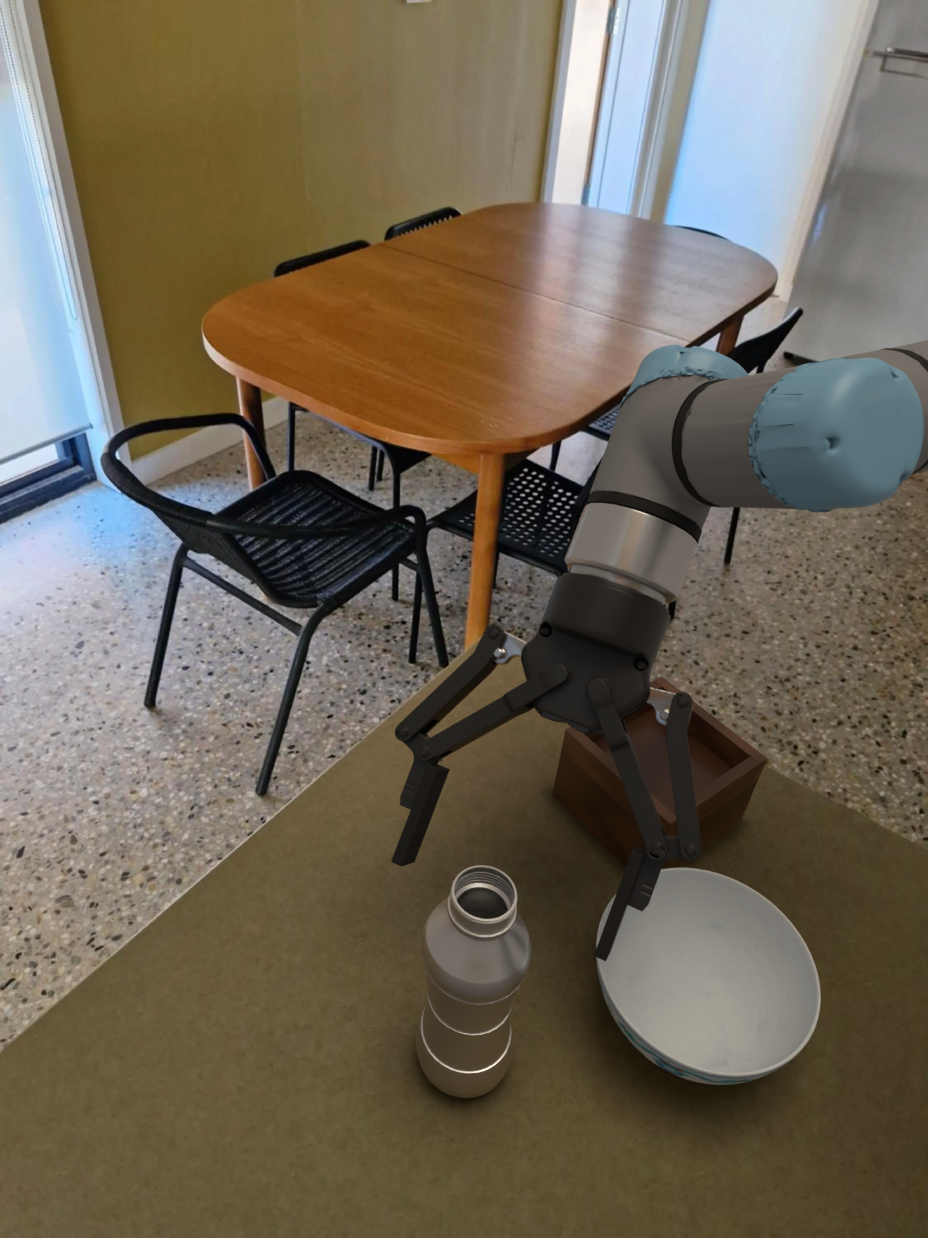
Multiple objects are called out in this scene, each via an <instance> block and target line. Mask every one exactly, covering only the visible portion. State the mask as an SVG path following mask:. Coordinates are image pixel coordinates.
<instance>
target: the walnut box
mask: <svg viewBox="0 0 928 1238" xmlns="http://www.w3.org/2000/svg"><path fill="white" fill-rule="evenodd" d="M650 686H651V687H652V688H656V689H660V690H664V691H669V692H673V693H678V692H682V691H681V690H680V689H679V688H678V687H676V686H675V685H673V684H672V683H671V682H670V681H669V680H667V679H666V678H664V676H660V677H657V678H656V679H654V680H652V681H650ZM624 722H625V725H626V727H627V730H628V733H629V735H630V738H631V741H632V744H633V747H634V750H635V753H636V756H637V758H638V761H639V764H640V766H641V769H642V772H643V774H644V777H645V780H646V782H647V785H648V788H649V791H650V793H651V796H652V799H653V801H654V804H655V807H656V809H657V812H658V815H659V817H660V820H661V823H662V826H663V828H664V831H665V834H666V836H676V837H678V829H677V821H676V813H675V805H674V797H673V789H672V781H671V773H670V765H669V757H668V749H667V741H666V726H664V725H662V724H660V723H659V722H658V721H657V719H656V712H655V708H654V707H653V706H652V705H650V704H646V705H645V706H644V707H643V708H641V709H640V710H638V711H637V712H635V713H633V714H632V715H630V716H629V717H627V718H626V719H624ZM687 738H688V746H689V754H690V762H691V769H692V777H693V785H694V793H695V800H696V808H697V816H698V823H699V831H700V839H701V851H703V850H704V849H705V848H707V847H708V846H710V845H711V844H712V843H714V842H715V841H716V840H718V839H719V838H721V837H722V836H724V835H725V834H726V833H728V832H729V831H730V830H732V829H733V828H735V827H736V826H737V825H739V824H740V823H741V822H742V820H743V817H744V815H745V812H746V810H747V807H748V805H749V803H750V801H751V799H752V796H753V793H754V791H755V789H756V786H757V785H758V781H759V779H760V777H761V774H762V772H763V770H764V767H765V765H766V763H767V761H768V757H766V756H765V755H764V754H763V753H761V752H760V751H759V750H757V749H756V748H754V747H753V746H752V745H751V744H750V743H749V742H747V741H746V740H745V739H743V738H742V737H740V735H738V734H737V733H736V732H735V731H733V730H732V729H730V728H729V727H728V726H726V725H725V724H724V723H723V722H721V721H720V720H719V719H718V718H716V717H715V716H714V715H712V714H711V713H709V711H707V710H705V708H703V707H702V706H701V705H699V704H698V703H697V702H695V701H694V700H693V708H692V713H691V717H690V721H689V725H688V730H687ZM558 759H559V760H558V765H557V769H556V774H555V779H554V785H553V790H552V795H553V797H554V798H556V800H558V802H560V804H562V805H563V806H564V807H565V808H566V809H567V810H568V811H569V812H570V813H571V814H572V815H573V816H574V817H575V818H576V819H577V820H578V821H579V822H580V823H581V824H582V825H583V826H584V827H585V828H586V829H587V830H588V831H589V832H590V833H591V834H592V835H593V836H594V837H595V838H596V839H597V840H598V841H600V843H602V844H603V845H604V846H605V848H607V849H608V851H610V853H612V854H613V855H614V856H615V857H616V858H617V859H618V860H619V861H620V862H621V863H622V864H623V866H625V867H626V866H627V863H628V860H629V857H630V855H631V852H632V850H633V849H634V848H635V847H637V848H639V849H642V850H644V851H646V846H645V843H644V841H643V838H642V835H641V832H640V830H639V827H638V824H637V821H636V819H635V816H634V813H633V810H632V808H631V805H630V802H629V799H628V797H627V794H626V791H625V788H624V786H623V783H622V780H621V778H620V775H619V772H618V769H617V767H616V764H615V761H614V758H613V756H612V753H611V751H610V749H609V746H608V744H607V741H606V739H605V736H604V733H602V734H598V735H588V734H585V733H582V732H580V731H577V730H575V729H574V728H572V727H571V726H569V727H567V728H565V730H564V734H563V740H562V745H561V750H560V755H559V758H558ZM686 862H688V860H682V859H671V860H668V861H667V862H665V863H664V864H663V866H662V869H668V868H680V867H681V866H682V865H684V864H685V863H686ZM662 869H661V870H662Z"/></svg>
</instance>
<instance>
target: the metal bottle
mask: <svg viewBox="0 0 928 1238" xmlns="http://www.w3.org/2000/svg"><path fill="white" fill-rule="evenodd" d="M517 904H518V891H517V888H516V885H515V883H514V882H513V880H512V879H511V878H510V876H509V875H508V874H507V873H505V872H504V871H502V870H501V869H498V868H496V867H494V866H491V865H484V864H480V865H479V864H477V865H472V866H468V867H467V868H464V869H463V870H462V871H460V872H459V873H458V874H457V875H456V876H455V878H454V880H453V881H452V884H451V888H450V892H449V895H448V897H446V898H444V899H443V900H442V901H441V902H439V903H438V904H437V905H436V907H435V908H434V909H433V910H432V911H431V913H430V915H429V916H428V918H427V919H426V922H425V923H424V926H423V928H422V931H421V938H420V940H421V941H420V946H421V957H422V962H423V967H424V972H425V976H426V990H427V993H426V994H427V996H426V1001H425V1005H424V1008H423V1010H422V1012H421V1013H420V1017H419V1019H418V1020H419V1021H418V1023H417V1027H416V1031H415V1038H414V1045H415V1052H416V1055H417V1058H418V1062H419V1064H420V1067H421V1070H422V1072H423V1073H424V1076H425V1077H426V1079H427V1080H428V1081H429V1082H430V1083H431V1085H433V1086H434V1087H435V1088H436V1089H438V1090H439V1091H441V1092H442V1093H444V1094H447V1095H448V1096H451V1097H455V1098H460V1099H471V1098H478V1097H481V1096H484V1095H486V1094H488V1093H489V1092H491V1091H492V1090H493V1089H494V1088H496V1087H497V1086H498V1085H499V1084H500V1082H501V1081H502V1079H503V1078H504V1076H505V1075H506V1074H507V1072H508V1070H509V1068H510V1066H511V1063H512V1059H513V1055H514V1035H513V1034H514V1033H513V1028H512V1023H511V1021H512V1019H511V1018H512V1017H511V1016H512V1014H511V1013H512V1008H513V1005H514V1001H515V997H516V995H517V993H518V991H519V988H520V986H521V985H522V983H523V981H524V979H525V977H526V975H527V972H528V969H529V966H530V962H531V957H532V943H531V938H530V934H529V931H528V928H527V926H526V924H525V921H524V919H523V917H522V916H521V915H520V914H519V912H518V911H517V909H518V908H517Z"/></svg>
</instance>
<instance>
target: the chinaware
mask: <svg viewBox="0 0 928 1238" xmlns="http://www.w3.org/2000/svg"><path fill="white" fill-rule="evenodd" d="M615 896H616V894H614V895H613V897H612V898H611V899H610V901H609V902H608V904H607V905H606V907H605V909H604V911H603V913H602V916H601V918H600V920H599V924H598V927H597V928H598V929H597V933H596V940H595V949H596V948H597V946H598V943H599V940H600V937H601V935H602V932H603V929H604V926H605V924H606V921H607V918H608V915H609V913H610V910H611V907H612V904H613V901H614V899H615ZM595 959H596V969H597V976H598V981H599V985H600V988H601V992H602V995H603V998H604V1001H605V1003H606V1006H607V1009H608V1010H609V1013H610V1014H611V1017H612V1019H613V1020H614V1022H615V1023H616V1025H617V1027H618V1028H619V1029H620V1031H621V1032H622V1034H623V1035H624V1036H625V1038H626V1039H627V1040H628V1042H629V1043H630V1044H631V1045H632V1046H633V1047H634V1048H635V1049H636V1050H637V1052H639V1053H640V1054H641V1055H642V1056H644V1057H645V1058H646V1059H647V1060H648V1061H650V1062H651V1063H653V1064H654V1065H656V1066H658V1067H659V1068H661V1069H663V1070H664V1071H666V1072H668V1073H669V1074H672V1075H674V1076H677V1077H679V1078H682V1079H685V1080H688V1081H691V1082H695V1083H700V1084H705V1085H714V1086H715V1085H717V1086H725V1085H737V1084H742V1083H743V1084H744V1083H747V1082H751V1081H755V1080H757V1079H760V1078H763V1077H766V1076H768V1075H770V1074H772V1073H773V1072H775V1071H777V1070H779V1069H780V1068H782V1067H784V1066H785V1065H786V1064H788V1063H790V1062H791V1061H792V1060H793V1059H794V1058H796V1056H797V1055H799V1054H800V1052H802V1051H803V1050H804V1048H805V1047H806V1045H807V1044H808V1042H809V1041H810V1039H811V1037H812V1036H813V1034H814V1032H815V1029H816V1027H817V1024H818V1022H819V1021H818V1020H819V1016H820V1013H821V1000H822V996H821V993H822V992H821V984H820V977H819V974H818V970H817V965H816V963H815V960H814V958H813V955H812V953H811V951H810V949H809V947H808V945H807V943H806V941H805V940H804V938H803V937H802V935H801V934H800V932H799V930H798V929H797V928H796V926H795V925H794V924H793V923H792V922H791V920H790V919H789V918H788V917H787V916H786V915H785V914H784V913H783V912H782V910H780V909H779V908H778V907H777V906H776V905H775V904H774V903H773V902H772V901H770V900H769V899H768V898H767V897H765V896H764V895H762V894H761V893H760V892H758V891H757V890H755V889H753V888H752V887H750V886H748V885H747V884H745V883H743V882H740V881H739V880H736V879H734V878H732V877H729V876H727V875H724V874H721V873H718V872H714V871H711V870H707V869H702V868H701V869H700V868H695V867H678V868H668V869H662V870H661V872H660V874H659V877H658V880H657V883H656V886H655V888H654V891H653V894H652V897H651V899H650V902H649V905H648V906H647V907H646V908H645V909H644V910H643V911H640V910H637V909H635V908H633V907H631V906H628V905H627V908H626V911H625V914H624V916H623V919H622V922H621V925H620V927H619V930H618V933H617V936H616V939H615V941H614V944H613V947H612V950H611V952H610V954H609V956H608V958H607V960H606V961H604V960H601V959H599V958H597V957H595Z"/></svg>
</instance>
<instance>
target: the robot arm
mask: <svg viewBox="0 0 928 1238" xmlns="http://www.w3.org/2000/svg"><path fill="white" fill-rule="evenodd" d="M927 471H928V339H926V340H921V341H917V342H913V343H909V344H904V345H899V346H895V347H894V346H893V347H885V348H880V349H877V350H872V351H871V350H870V351H867V352H862V353H856V354H851V355H846V356H845V355H844V356H841V357H832V358H829V359H825V360H820V361H819V360H818V361H815V360H813V361H811V362H808V363H804V364H800V365H796V366H791V367H785V368H779V369H774V370H768V371H763V372H758V373H753V374H748V372H747V371H746V369H744V368H743V367H742V366H741V365H740V364H739V363H738V362H737V361H735V360H734V359H732V358H730V357H728V356H726V355H725V354H722V353H720V352H718V351H715V350H712V349H709V348H705V347H702V346H697V345H693V346H691V347H685V346H683V345H680V344H668V345H664V346H660V347H658V348H655V349H652V350H651V351H650V352H649V353H648V354H646V355H645V357H644V358H643V359H642V360H641V362H640V364H639V366H638V369H637V371H636V372H635V376H634V377H633V380H632V382H631V384H630V387H629V389H628V390H627V392H626V394H625V396H623V398H622V400H621V402H620V404H619V407H618V411H617V416H616V419H615V421H614V425H613V428H612V429H611V433H610V435H609V439H608V441H607V443H606V447H605V450H604V453H603V456H602V458H601V461H600V463H599V466H598V469H597V472H596V474H595V478H594V480H593V483H592V486H591V489H590V491H589V494H588V498H587V501H586V504H585V506H584V508H583V510H582V513H581V515H580V518H579V520H578V523H577V525H576V529H575V531H574V533H573V536H572V538H571V541H570V544H569V546H568V549H567V552H566V554H565V557H564V562H565V564H566V566H567V568H568V569H569V570H570V571H569V572H564V573H562V574H561V575H558V577H557V579H556V580H555V584H554V586H553V589H552V592H551V594H550V597H549V599H548V603H547V604H546V605H547V606H546V608H545V611H544V613H543V615H542V619H541V621H540V624H539V627H538V629H537V631H536V633H535V634H534V636H533V637H532V638H531V639H530V640H529V641H528V642H526V641H525V640H523V639H521V638H519V637H517V636H515V635H512V634H511V633H510V632H508V631H507V630H506V629H505V628H503V627H501V626H500V625H499V624H496V623H493V624H489V625H487V627H486V628H485V629H484V632H483V634H482V635H481V638H480V639H479V642H478V643H477V646H476V647H475V649H474V651H473V652H472V653H471V655H470V656H468V657H467V658H466V659H465V660H464V661H463V662H462V663H461V664H460V665H459V666H457V668H456V669H455V670H453V672H452V673H450V674H449V676H447V677H446V679H444V680H443V681H442V682H441V683H440V684H439V685H438V686H437V687H435V689H434V690H433V691H432V692H431V693H430V694H429V695H428V696H426V697H425V699H423V700H422V701H421V702H420V703H419V704H418V705H417V706H416V707H415V708H414V709H413V710H412V711H410V713H409V714H407V715H406V717H404V718H403V719H402V720H401V721H400V722H399V723H398V724H397V725H396V727H395V729H394V736H395V738H396V739H397V740H398V741H400V742H402V743H403V744H404V745H405V746H407V748H408V749H409V750H410V751H411V753H412V755H413V760H412V761H413V762H412V765H411V767H410V770H409V772H408V775H407V778H406V780H405V783H404V785H403V788H402V790H401V793H400V796H399V805H400V807H403V808H405V809H408V810H409V813H408V816H407V818H406V821H405V823H404V826H403V829H402V832H401V834H400V836H399V840H398V842H397V845H396V847H395V850H394V853H393V855H392V858H391V861H390V862H391V863H392V864H394V865H397V866H399V867H405V866H408V865H411V864H414V863H416V861H417V857H418V855H419V852H420V850H421V847H422V845H423V842H424V838H425V836H426V833H427V831H428V828H429V826H430V823H431V820H432V818H433V815H434V812H435V809H436V807H437V805H438V802H439V799H440V797H441V794H442V791H443V789H444V786H445V783H446V781H447V778H448V776H449V772H450V768H448V767H446V766H443V765H441V764H439V762H442V761H443V759H444V758H446V757H448V756H450V755H452V754H453V753H455V752H457V751H459V750H460V749H463V748H464V747H465V746H467V745H469V744H472V742H474V741H476V740H478V739H480V738H482V737H483V736H485V735H488V734H489V733H490V732H492V731H494V730H495V729H498V728H499V727H501V726H503V725H505V724H507V723H508V722H510V721H512V720H513V719H515V718H517V717H519V716H521V715H524V714H527V713H528V712H530V711H532V710H533V709H534V710H535V711H536V712H537V714H538V715H540V717H541V718H544V719H546V720H549V721H552V722H555V723H561V724H567V726H569V727H572V728H574V729H575V730H577V731H580V732H582V733H585V734H588V735H598V734H602V733H604V736H605V739H606V741H607V744H608V746H609V749H610V751H611V753H612V756H613V758H614V761H615V764H616V767H617V769H618V772H619V775H620V778H621V780H622V783H623V786H624V788H625V791H626V794H627V797H628V799H629V802H630V805H631V808H632V810H633V813H634V816H635V819H636V821H637V824H638V827H639V830H640V832H641V835H642V838H643V841H644V843H645V846H646V851H644V850H642V849H639V848H637V847H635V848H634V849H633V850H632V852H631V855H630V857H629V860H628V863H627V866H625V868H624V871H623V874H622V877H621V880H620V882H619V884H618V888H617V890H616V893H615V895H616V896H615V895H614V896H615V899H614V901H613V904H612V907H611V910H610V913H609V915H608V918H607V921H606V924H605V926H604V929H603V932H602V935H601V937H600V940H599V943H598V946H597V948H596V947H595V951H594V954H593V957H595V958H596V957H597V958H599V959H601V960H604V961H606V960H607V958H608V956H609V954H610V952H611V950H612V947H613V944H614V941H615V939H616V936H617V933H618V930H619V927H620V925H621V922H622V919H623V916H624V914H625V911H626V908H627V905H628V906H631V907H633V908H635V909H637V910H640V911H643V910H644V909H645V908H646V907H647V906H648V905H649V902H650V899H651V897H652V894H653V891H654V888H655V886H656V883H657V880H658V877H659V874H660V872H661V869H662V866H663V864H664V863H665V862H667V861H668V860H671V859H682V860H687V861H690V862H693V861H696V860H698V859H699V858H700V856H701V855H702V850H701V839H700V831H699V823H698V816H697V808H696V800H695V793H694V785H693V777H692V769H691V762H690V754H689V746H688V738H687V730H688V725H689V721H690V717H691V713H692V708H693V701H694V699H693V698H692V696H691V695H690V694H689V692H686V691H681V692H678V693H673V692H669V691H664V690H660V689H656V688H652V687H651V686H650V682H651V673H652V669H653V666H654V663H655V661H656V658H657V656H658V654H659V650H660V647H661V644H662V642H663V639H664V637H665V634H666V631H667V628H668V626H669V623H670V620H671V617H672V616H671V615H670V611H669V609H668V608H667V605H666V604H670V603H673V602H675V601H677V600H678V598H679V596H680V593H681V590H682V587H683V584H684V582H685V579H686V576H687V574H688V571H689V568H690V565H691V562H692V560H693V557H694V554H695V552H696V549H697V546H698V544H699V542H700V539H701V537H702V533H703V528H704V525H705V523H706V520H707V518H708V516H709V513H710V511H711V508H723V509H724V508H725V509H726V508H727V509H728V508H743V509H744V508H746V509H777V510H797V511H798V510H799V511H805V510H807V511H809V512H811V513H829V512H831V511H835V510H836V509H854V508H855V509H857V508H868V507H872V506H875V505H878V504H881V503H883V502H885V501H887V500H889V499H890V498H892V497H893V495H894V494H896V493H897V492H898V490H899V489H898V488H899V486H900V485H901V484H902V483H904V482H906V480H907V479H909V478H910V477H911V476H913V475H918V474H920V473H924V472H927ZM515 658H520V663H521V666H522V670H523V673H524V677H525V681H524V682H523V683H521V684H519V685H517V686H516V687H514V688H512V689H510V690H508V691H507V692H505V693H504V694H503V695H502V696H501V697H499V698H497V699H496V700H493V701H492V702H490V703H488V704H487V705H485V706H483V707H481V708H480V709H478V710H476V711H475V712H473V713H471V714H469V715H468V716H466V717H464V718H462V719H461V720H459V721H457V722H455V723H454V724H452V725H450V726H448V727H446V728H445V729H443V730H441V731H439V732H438V733H436V734H434V735H433V736H430V735H429V733H430V732H431V731H432V730H433V729H434V728H435V727H437V725H438V724H440V722H442V721H443V719H445V718H446V717H447V716H448V715H449V714H450V713H451V712H452V711H453V710H454V709H455V708H457V706H458V705H460V703H462V702H463V701H464V700H465V698H467V696H469V695H470V694H471V693H472V692H473V691H474V690H475V689H477V687H478V686H479V685H481V683H483V682H484V680H486V679H487V678H488V677H489V676H490V675H491V674H492V673H493V672H494V670H495V669H496V668H497V666H498V665H500V666H505V665H508V664H509V663H510V662H511V661H512V660H513V659H515ZM646 704H650V705H652V706H653V707H654V708H655V712H656V719H657V721H658V722H659V723H660V724H662V725H664V726H666V741H667V749H668V757H669V765H670V773H671V781H672V789H673V797H674V805H675V813H676V821H677V829H678V837H676V836H666V834H665V831H664V828H663V826H662V823H661V820H660V817H659V815H658V812H657V809H656V807H655V804H654V801H653V799H652V796H651V793H650V791H649V788H648V785H647V782H646V780H645V777H644V774H643V772H642V769H641V766H640V764H639V761H638V758H637V756H636V753H635V750H634V747H633V744H632V741H631V738H630V735H629V733H628V730H627V727H626V725H625V722H624V719H626V718H627V717H629V716H630V715H632V714H633V713H635V712H637V711H638V710H640V709H641V708H643V707H644V706H645V705H646Z"/></svg>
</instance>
